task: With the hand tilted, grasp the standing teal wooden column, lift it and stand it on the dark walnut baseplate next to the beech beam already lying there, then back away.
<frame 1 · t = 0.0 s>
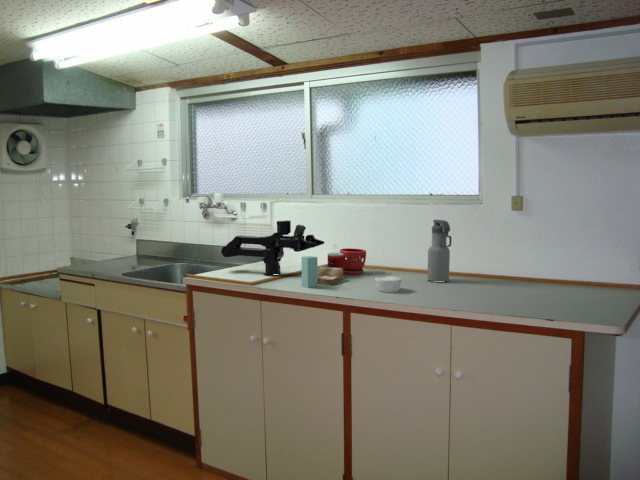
hand: (320, 243, 250), 17 cm above the worktop, tool horizontal, fingers open, 9 cm apart
baseplate: (324, 281, 245), on the worktop
water bottle: (438, 281, 246), on the worktop
canned food: (335, 276, 258), on the worktop
ramekin: (388, 291, 226), on the worktop
beam: (328, 274, 249), point 2 cm above the worktop, touching baseplate
plant pot: (352, 273, 266), on the worktop
column: (309, 286, 234), on the worktop
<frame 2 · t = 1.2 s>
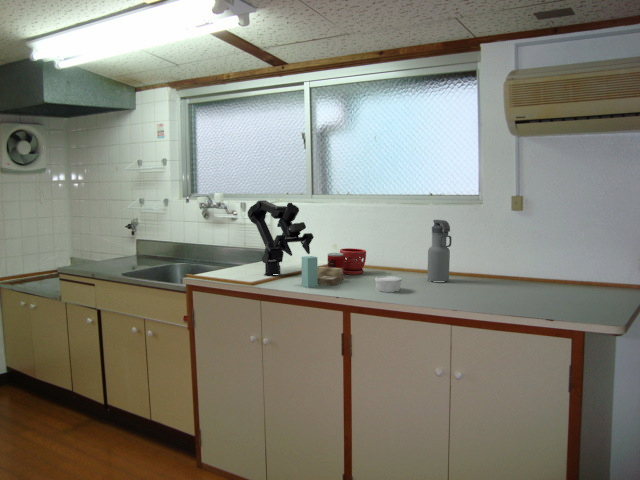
hand: (300, 254, 238), 13 cm above the worktop, tool tilted 45°, fingers open, 9 cm apart
nothing on the worktop moved.
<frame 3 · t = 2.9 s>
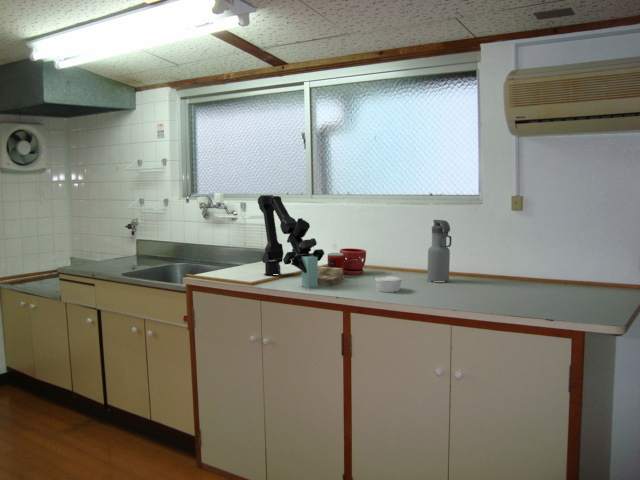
hand: (311, 271, 232), 7 cm above the worktop, tool tilted 45°, fingers closed on column, 5 cm apart
column: (309, 286, 234), on the worktop, touching gripper
everything else where it was.
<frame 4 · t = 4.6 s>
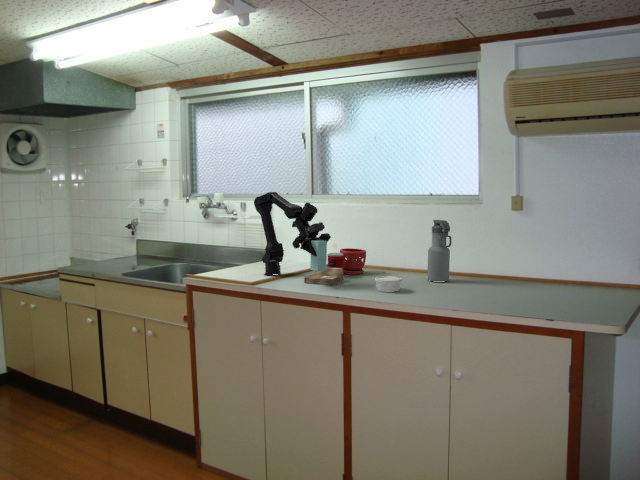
hand: (320, 255, 234), 13 cm above the worktop, tool tilted 45°, fingers closed on column, 5 cm apart
column: (318, 270, 236), point 7 cm above the worktop, touching gripper
everything else where it was.
when the fingers open (10 cm above the worktop, at t = 6.1 s): column stays where it is, resting on baseplate.
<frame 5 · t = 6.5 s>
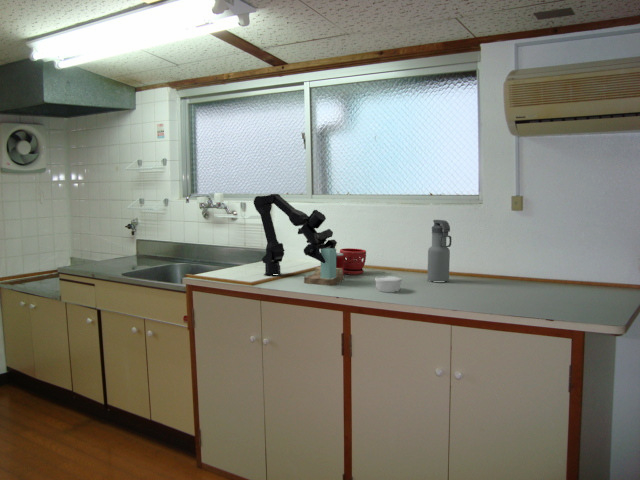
hand: (331, 261, 239), 10 cm above the worktop, tool tilted 45°, fingers open, 9 cm apart
column: (328, 277, 241), point 3 cm above the worktop, touching baseplate
everything else where it was.
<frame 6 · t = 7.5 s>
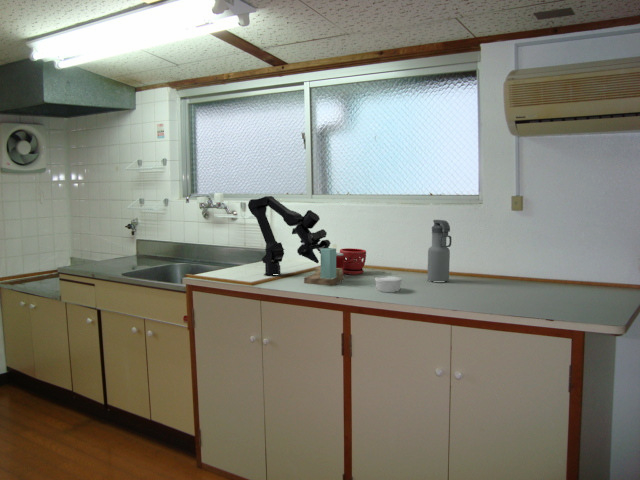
hand: (324, 261, 241), 10 cm above the worktop, tool tilted 45°, fingers open, 9 cm apart
nothing on the worktop moved.
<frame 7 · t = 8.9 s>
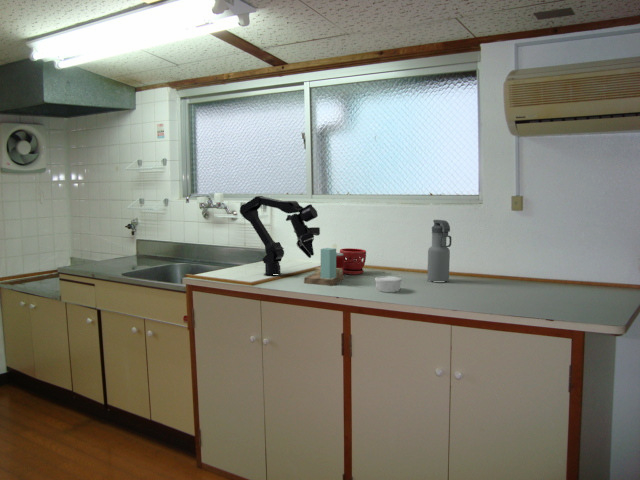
hand: (311, 256, 251), 11 cm above the worktop, tool tilted 25°, fingers open, 9 cm apart
nothing on the worktop moved.
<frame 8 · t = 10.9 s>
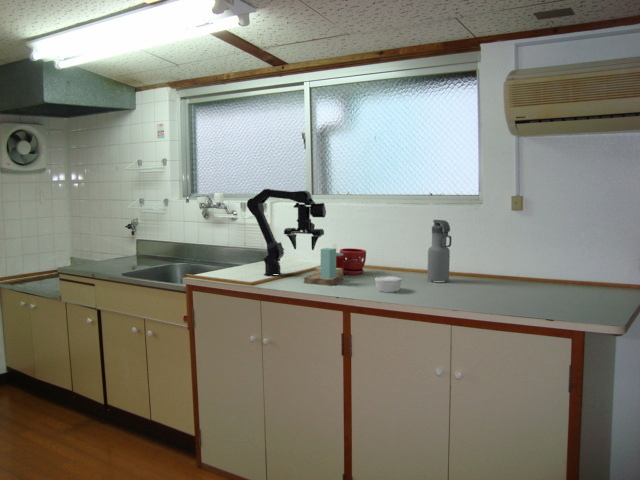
hand: (303, 249, 256), 13 cm above the worktop, tool pointing down, fingers open, 9 cm apart
nothing on the worktop moved.
at the end: column 0.1 cm from the target spot on the baseplate, point 2.6 cm above the baseplate's base; column tilted 0°; the gripper is holding nothing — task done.
